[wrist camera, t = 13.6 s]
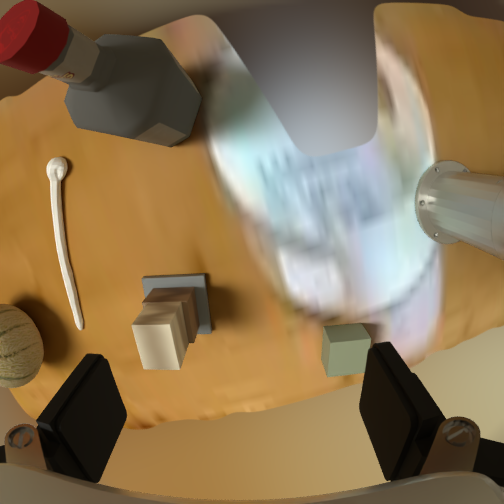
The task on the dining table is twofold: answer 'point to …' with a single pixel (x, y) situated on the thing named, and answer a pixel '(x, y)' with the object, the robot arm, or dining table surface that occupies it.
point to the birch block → (161, 335)
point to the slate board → (185, 281)
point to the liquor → (104, 75)
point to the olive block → (345, 349)
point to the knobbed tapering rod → (62, 233)
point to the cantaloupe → (18, 347)
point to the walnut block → (188, 304)
